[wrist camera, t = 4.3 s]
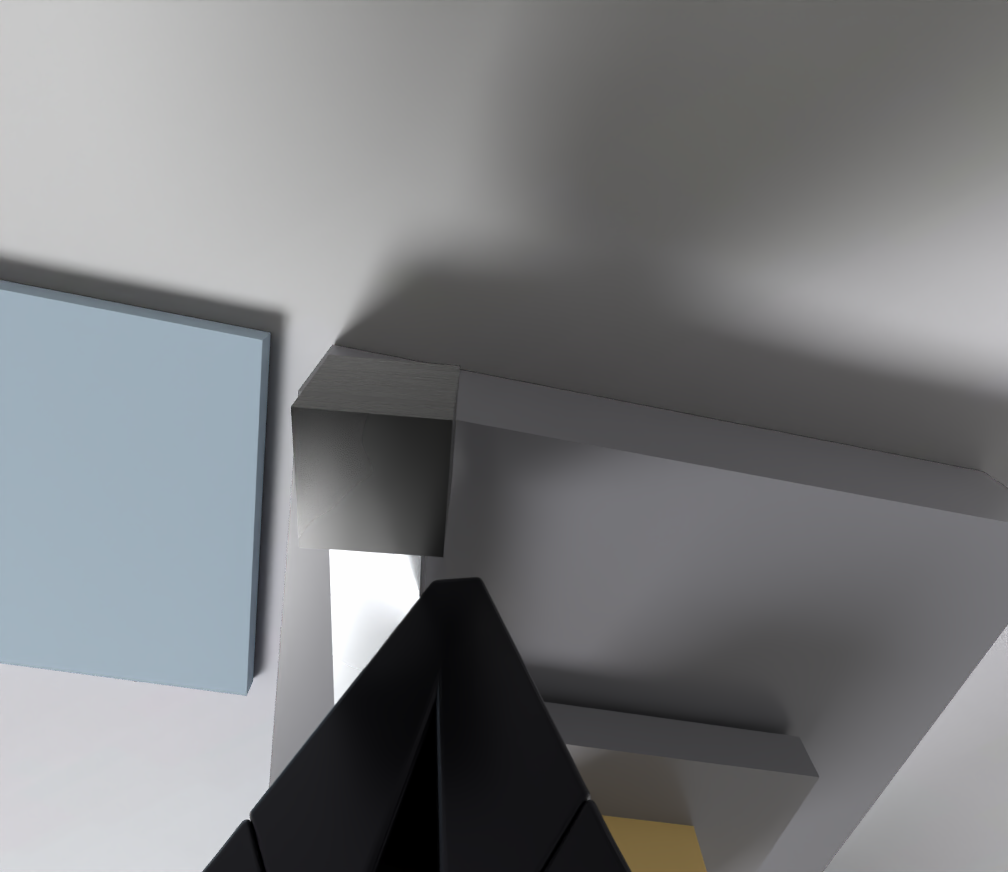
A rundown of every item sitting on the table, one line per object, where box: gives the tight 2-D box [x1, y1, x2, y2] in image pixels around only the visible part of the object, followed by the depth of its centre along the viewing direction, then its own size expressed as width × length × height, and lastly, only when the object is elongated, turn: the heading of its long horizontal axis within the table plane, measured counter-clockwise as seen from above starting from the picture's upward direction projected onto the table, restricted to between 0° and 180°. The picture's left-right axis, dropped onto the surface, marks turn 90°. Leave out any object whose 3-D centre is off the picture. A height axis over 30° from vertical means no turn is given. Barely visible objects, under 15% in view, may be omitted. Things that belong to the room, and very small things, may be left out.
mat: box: [0, 280, 271, 696], centre depth 11 cm, size 8×8×1 cm
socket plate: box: [269, 345, 1008, 872], centre depth 14 cm, size 17×12×2 cm
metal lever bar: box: [291, 354, 460, 705], centre depth 11 cm, size 18×2×2 cm, turn 174°
